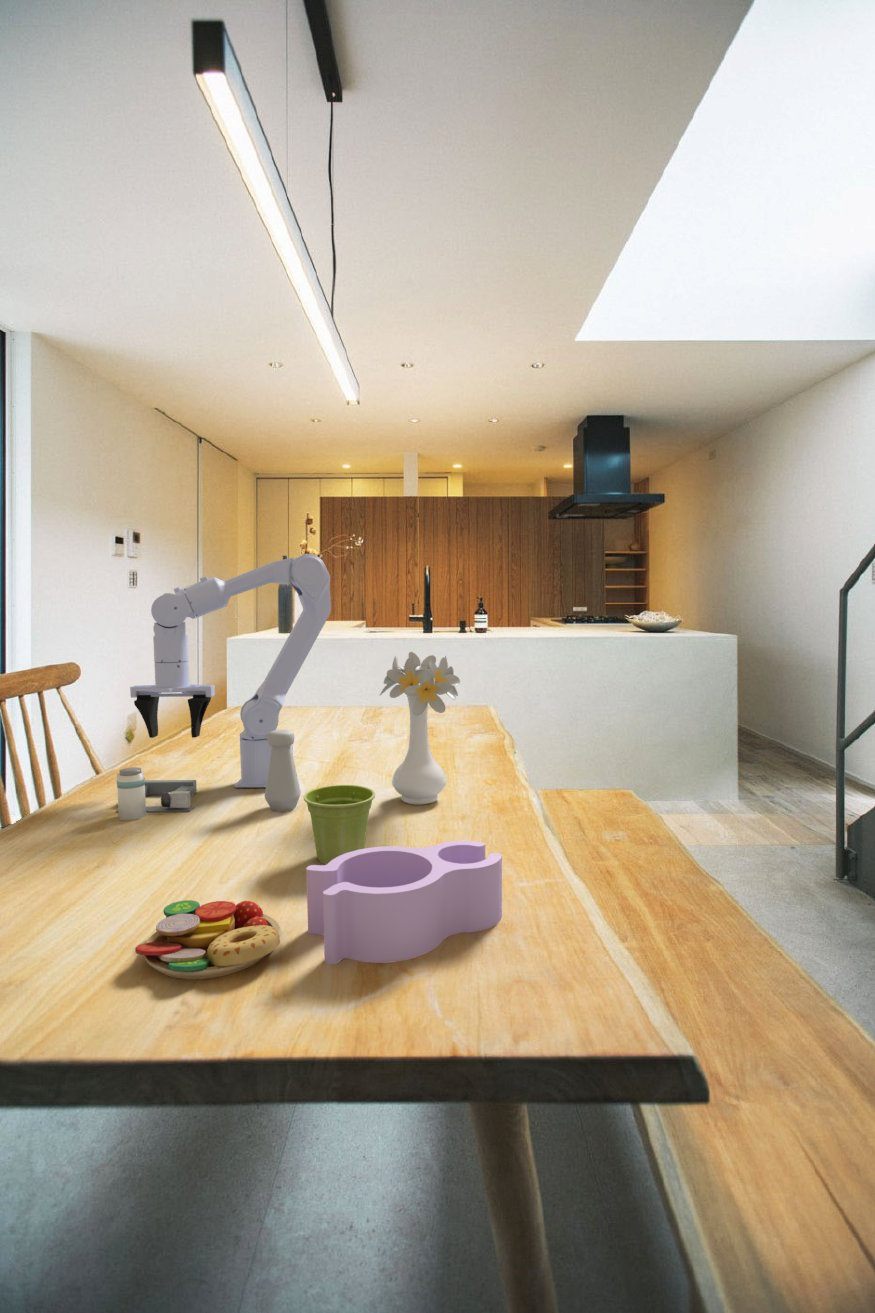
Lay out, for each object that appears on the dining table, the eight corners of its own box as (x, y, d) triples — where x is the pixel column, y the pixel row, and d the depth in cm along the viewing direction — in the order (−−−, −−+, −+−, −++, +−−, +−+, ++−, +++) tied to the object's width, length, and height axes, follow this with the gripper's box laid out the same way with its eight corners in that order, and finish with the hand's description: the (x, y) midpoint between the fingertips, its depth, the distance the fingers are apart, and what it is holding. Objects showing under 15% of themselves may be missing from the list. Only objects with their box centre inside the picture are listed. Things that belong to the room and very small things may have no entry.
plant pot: (387, 849, 95) (386, 787, 94) (357, 875, 86) (356, 807, 85) (326, 842, 98) (325, 782, 97) (291, 866, 89) (289, 800, 88)
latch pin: (192, 804, 115) (191, 790, 115) (186, 808, 113) (186, 794, 112) (167, 804, 115) (166, 790, 115) (161, 808, 113) (160, 794, 112)
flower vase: (404, 821, 107) (402, 660, 105) (371, 791, 124) (368, 652, 122) (480, 811, 112) (480, 656, 109) (438, 783, 129) (437, 649, 127)
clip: (467, 888, 82) (467, 831, 82) (522, 933, 71) (522, 868, 71) (301, 921, 74) (299, 859, 74) (333, 979, 63) (331, 905, 62)
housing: (213, 791, 124) (212, 779, 124) (188, 811, 113) (188, 798, 112) (141, 792, 124) (140, 780, 124) (109, 812, 113) (109, 799, 113)
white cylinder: (150, 812, 112) (148, 766, 112) (139, 820, 108) (137, 773, 108) (125, 812, 113) (123, 766, 112) (113, 820, 108) (111, 773, 108)
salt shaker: (305, 803, 117) (303, 727, 116) (295, 814, 111) (292, 734, 110) (271, 802, 117) (269, 727, 116) (259, 813, 112) (257, 733, 110)
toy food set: (280, 979, 63) (279, 945, 63) (125, 998, 60) (123, 962, 60) (281, 914, 76) (280, 886, 76) (154, 927, 73) (152, 898, 73)
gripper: (120, 663, 120) (124, 741, 121) (204, 663, 119) (206, 740, 120) (138, 660, 127) (142, 733, 128) (217, 659, 126) (220, 733, 127)
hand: (174, 736), depth 125 cm, fingers open, 7 cm apart
